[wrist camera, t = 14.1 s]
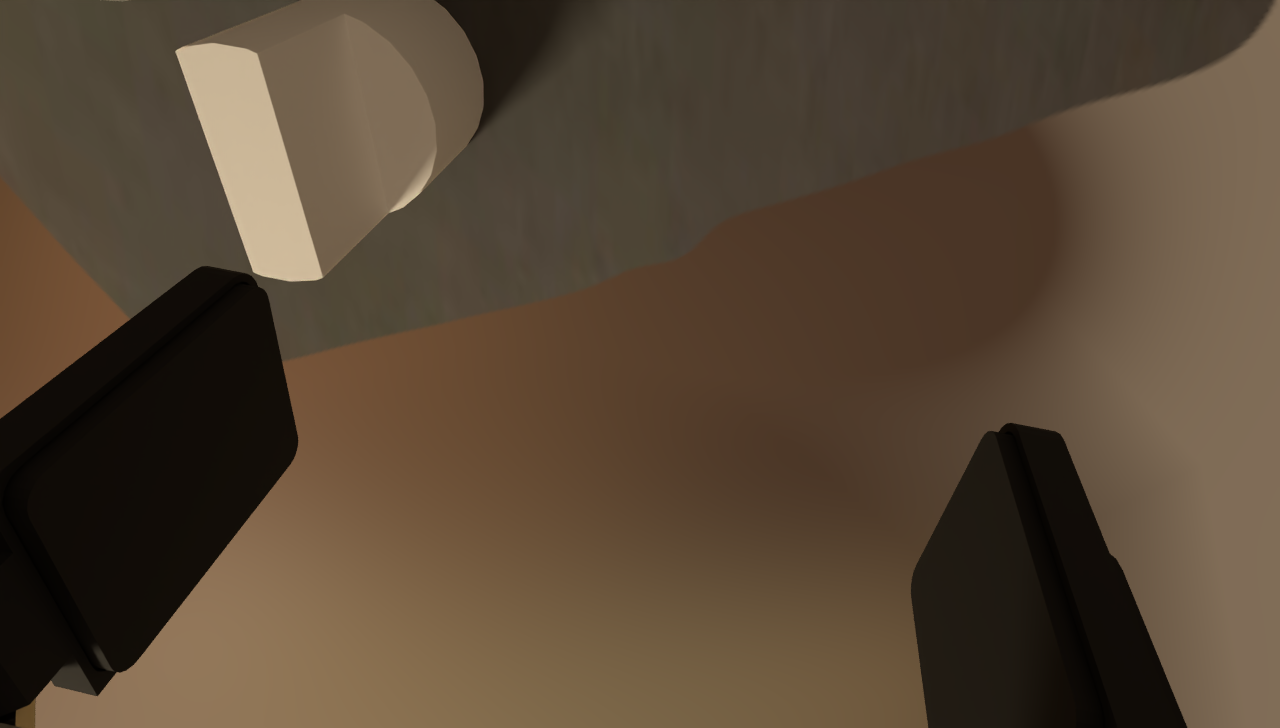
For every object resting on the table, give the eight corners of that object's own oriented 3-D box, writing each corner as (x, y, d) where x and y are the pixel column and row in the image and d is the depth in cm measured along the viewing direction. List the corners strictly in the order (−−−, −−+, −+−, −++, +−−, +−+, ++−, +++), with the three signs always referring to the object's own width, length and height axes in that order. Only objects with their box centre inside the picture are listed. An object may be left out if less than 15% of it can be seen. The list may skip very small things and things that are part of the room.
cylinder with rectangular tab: (284, -25, 36) (92, 39, 26) (469, -22, 34) (339, 46, 25) (332, 162, 41) (188, 273, 31) (495, 171, 40) (396, 289, 30)
